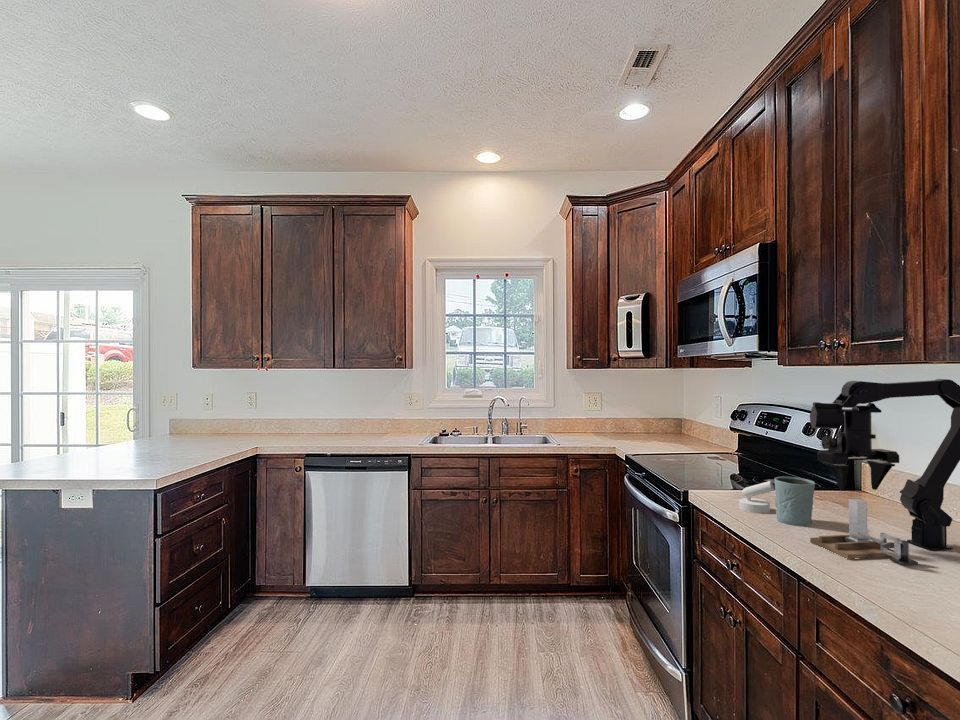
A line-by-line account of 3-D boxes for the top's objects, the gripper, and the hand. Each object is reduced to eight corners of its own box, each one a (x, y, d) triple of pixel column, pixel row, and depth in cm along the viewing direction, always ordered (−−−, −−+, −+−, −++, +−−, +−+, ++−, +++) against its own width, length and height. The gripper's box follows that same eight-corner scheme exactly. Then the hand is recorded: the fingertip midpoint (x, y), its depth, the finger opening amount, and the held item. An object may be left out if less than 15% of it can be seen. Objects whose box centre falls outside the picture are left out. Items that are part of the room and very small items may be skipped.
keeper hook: (903, 559, 124) (903, 538, 124) (918, 564, 121) (917, 543, 121) (876, 560, 124) (876, 539, 124) (890, 566, 120) (889, 544, 120)
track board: (856, 540, 137) (856, 530, 137) (898, 557, 125) (898, 546, 125) (810, 542, 136) (810, 532, 136) (847, 559, 124) (847, 548, 124)
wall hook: (771, 484, 160) (735, 479, 166) (771, 515, 160) (735, 510, 166) (777, 479, 167) (742, 474, 173) (777, 509, 167) (742, 504, 173)
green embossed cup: (776, 514, 161) (776, 475, 161) (816, 520, 155) (816, 479, 155) (772, 523, 153) (772, 481, 153) (814, 529, 147) (813, 485, 147)
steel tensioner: (859, 540, 133) (859, 498, 133) (907, 559, 120) (906, 512, 120) (844, 541, 132) (844, 498, 133) (890, 560, 120) (890, 513, 120)
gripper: (864, 425, 147) (865, 482, 147) (802, 426, 145) (802, 483, 144) (901, 430, 136) (901, 491, 136) (833, 431, 134) (834, 493, 133)
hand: (858, 489), depth 138 cm, fingers open, 9 cm apart
